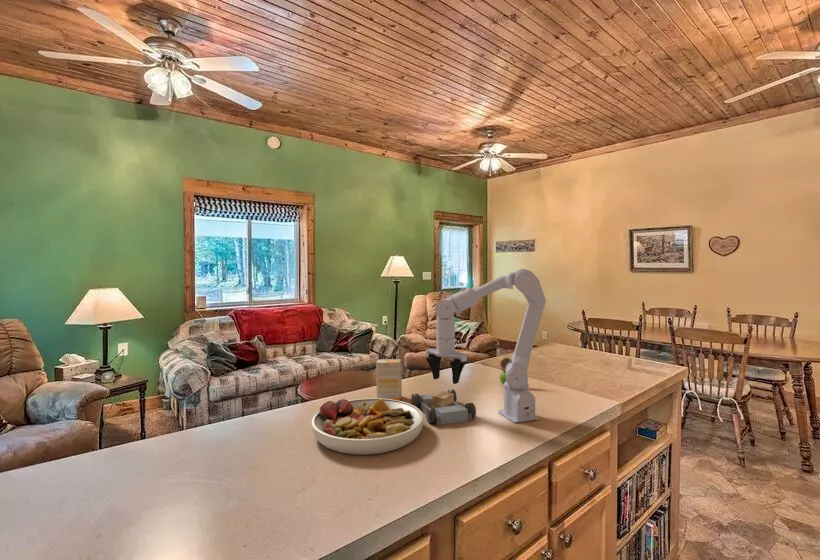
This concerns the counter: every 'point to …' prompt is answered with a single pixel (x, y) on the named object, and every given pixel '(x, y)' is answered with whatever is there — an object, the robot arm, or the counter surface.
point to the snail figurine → (503, 369)
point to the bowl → (366, 425)
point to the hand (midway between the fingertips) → (445, 380)
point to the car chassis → (444, 410)
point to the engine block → (442, 400)
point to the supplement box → (389, 379)
